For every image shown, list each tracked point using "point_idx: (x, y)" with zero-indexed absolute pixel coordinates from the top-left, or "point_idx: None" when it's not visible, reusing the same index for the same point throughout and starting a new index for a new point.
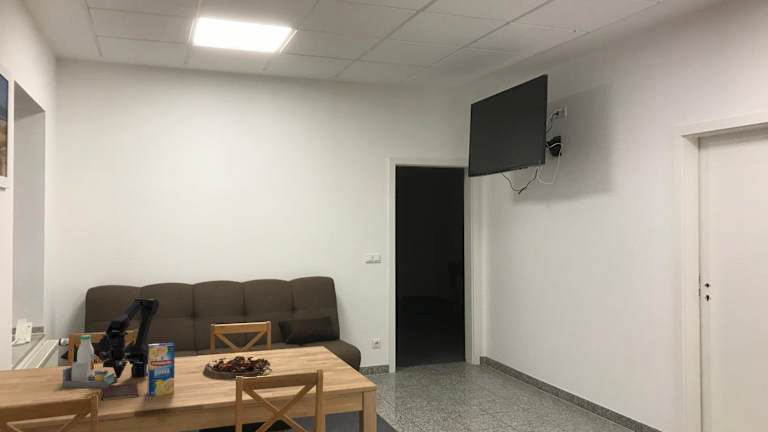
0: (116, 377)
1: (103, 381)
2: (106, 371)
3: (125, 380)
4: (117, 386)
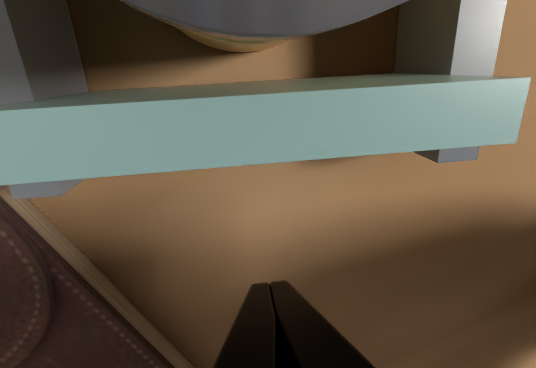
0: (428, 156)
1: (21, 97)
2: (216, 28)
3: (463, 215)
4: (43, 361)
